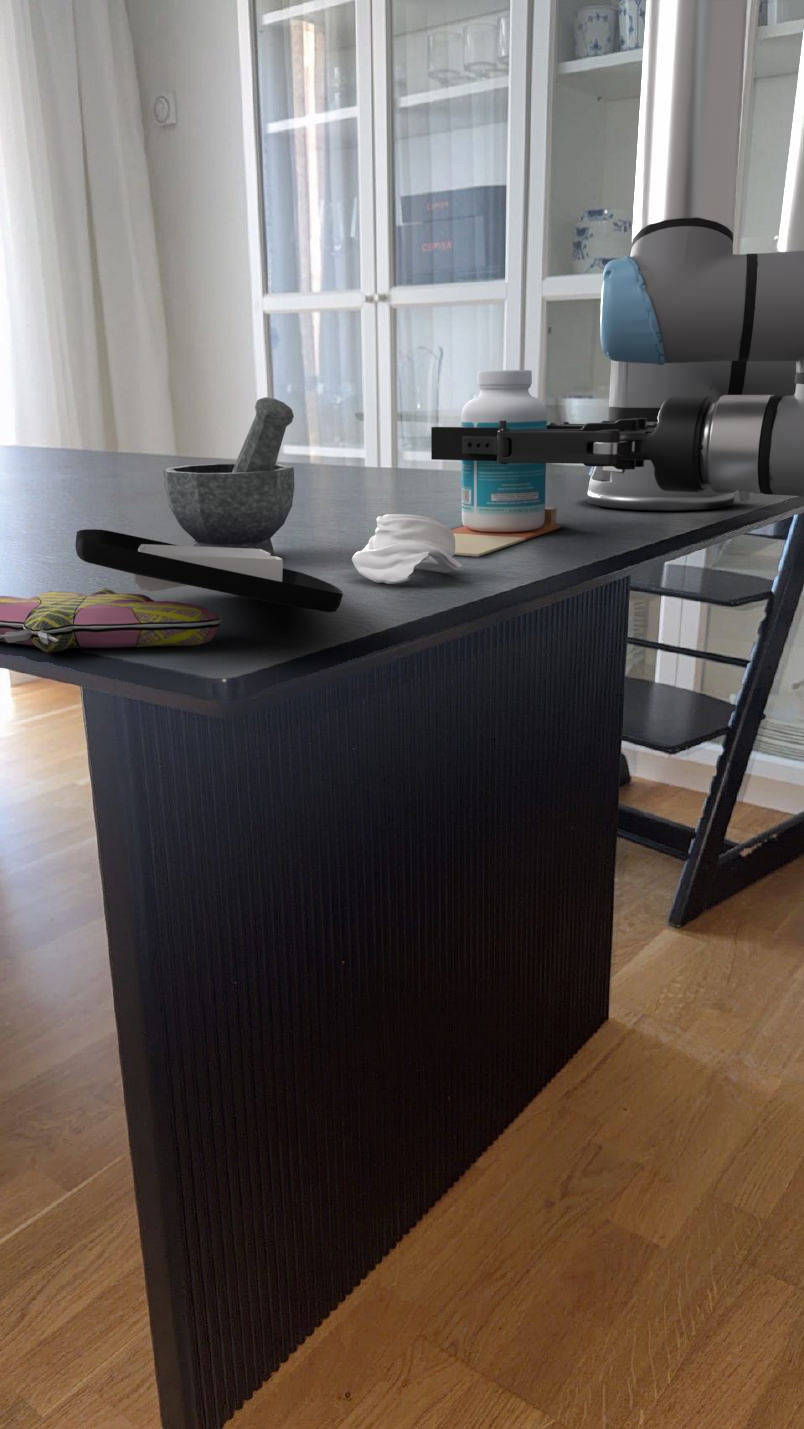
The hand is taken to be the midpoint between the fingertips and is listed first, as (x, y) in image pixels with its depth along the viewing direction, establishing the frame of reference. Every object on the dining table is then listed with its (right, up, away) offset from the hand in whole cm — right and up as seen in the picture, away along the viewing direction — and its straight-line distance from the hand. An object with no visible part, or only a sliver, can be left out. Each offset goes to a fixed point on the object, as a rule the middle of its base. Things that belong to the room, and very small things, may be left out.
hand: (455, 440), depth 95 cm
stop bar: (+7, -7, +4) cm, 10 cm away
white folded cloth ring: (-5, -15, -21) cm, 26 cm away
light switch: (-22, -15, -38) cm, 47 cm away
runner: (+2, -9, -4) cm, 10 cm away
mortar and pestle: (-17, -13, -13) cm, 25 cm away
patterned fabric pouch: (-21, -18, -34) cm, 44 cm away
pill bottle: (+4, -8, 0) cm, 9 cm away
